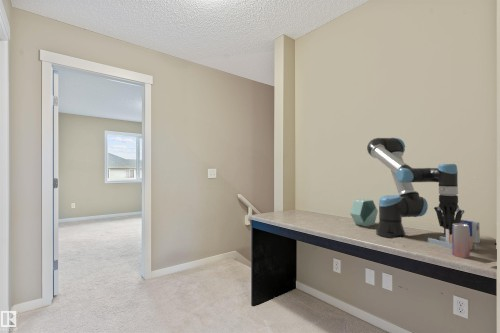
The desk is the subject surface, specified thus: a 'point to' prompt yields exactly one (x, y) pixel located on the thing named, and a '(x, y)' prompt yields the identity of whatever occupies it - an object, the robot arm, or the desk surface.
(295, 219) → the desk surface
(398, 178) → the robot arm
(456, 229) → the beverage can
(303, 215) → the desk surface
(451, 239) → the block
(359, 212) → the teal faceted polyhedron
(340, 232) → the desk surface
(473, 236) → the walkman
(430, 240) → the chute
